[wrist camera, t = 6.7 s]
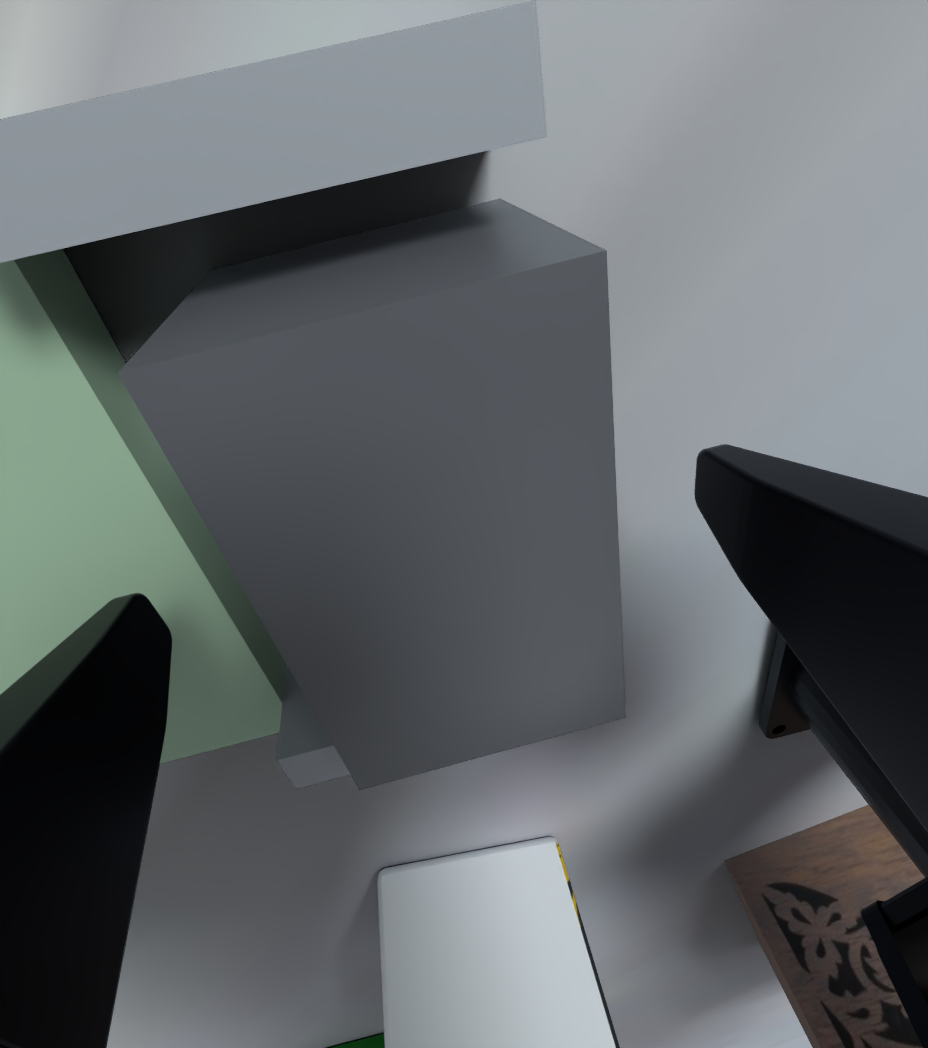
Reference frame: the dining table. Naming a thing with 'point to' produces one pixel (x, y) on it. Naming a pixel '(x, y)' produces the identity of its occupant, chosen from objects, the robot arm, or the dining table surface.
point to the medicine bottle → (488, 953)
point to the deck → (94, 362)
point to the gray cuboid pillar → (411, 477)
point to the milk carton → (365, 1043)
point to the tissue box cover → (830, 926)
